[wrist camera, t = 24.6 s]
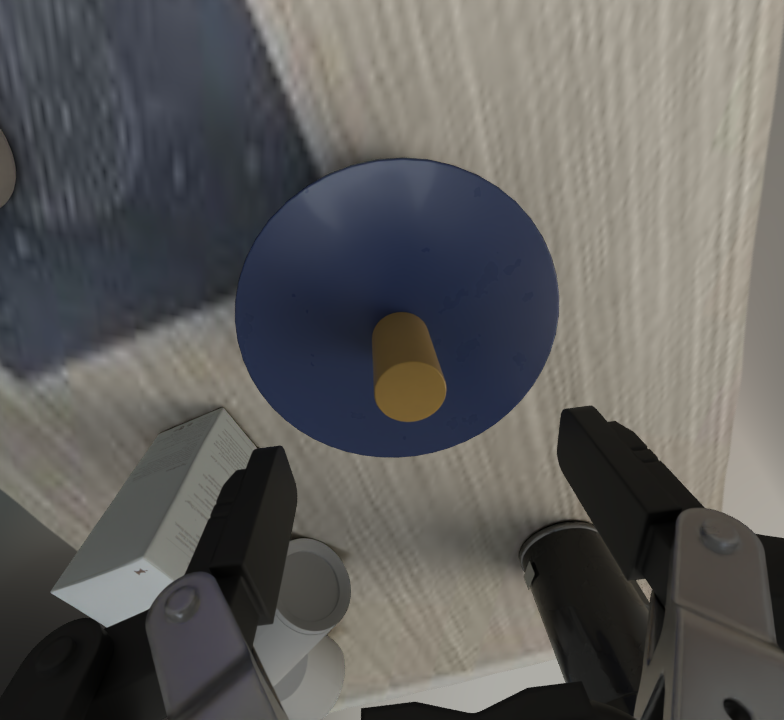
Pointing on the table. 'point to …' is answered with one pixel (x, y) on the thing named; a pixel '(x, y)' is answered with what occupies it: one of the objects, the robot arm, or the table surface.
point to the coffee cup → (6, 170)
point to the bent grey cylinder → (306, 631)
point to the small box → (155, 520)
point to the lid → (397, 307)
